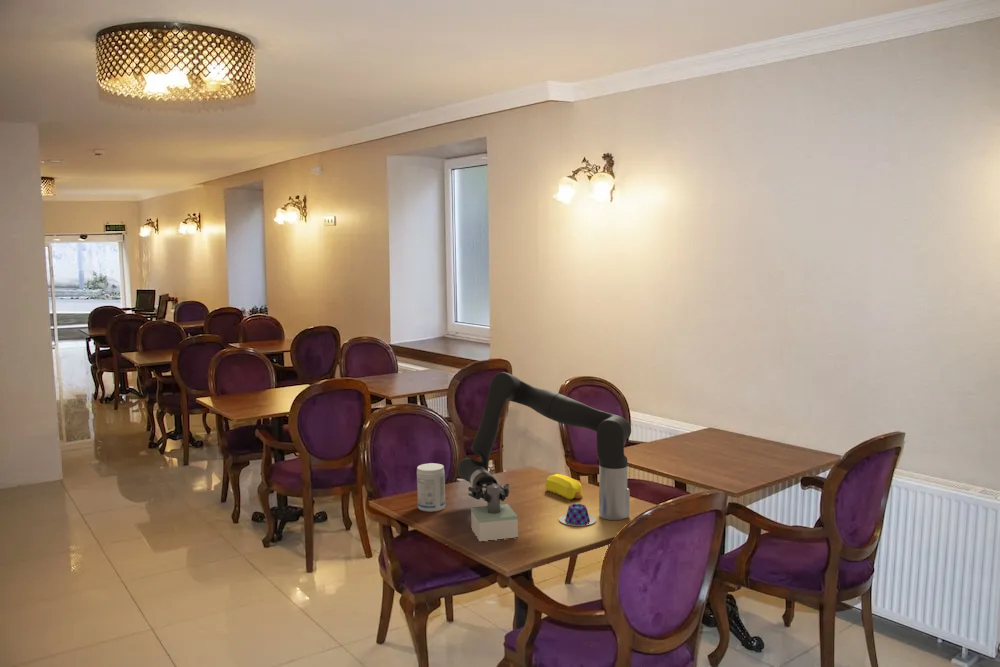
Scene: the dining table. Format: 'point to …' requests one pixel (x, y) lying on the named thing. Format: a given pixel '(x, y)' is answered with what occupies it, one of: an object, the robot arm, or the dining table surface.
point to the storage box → (494, 529)
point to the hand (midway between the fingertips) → (496, 498)
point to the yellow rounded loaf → (564, 486)
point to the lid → (494, 508)
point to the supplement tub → (431, 487)
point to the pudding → (577, 516)
